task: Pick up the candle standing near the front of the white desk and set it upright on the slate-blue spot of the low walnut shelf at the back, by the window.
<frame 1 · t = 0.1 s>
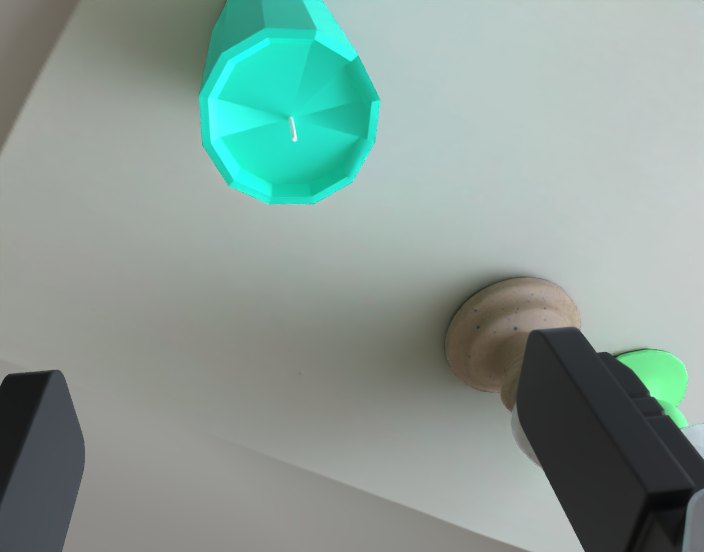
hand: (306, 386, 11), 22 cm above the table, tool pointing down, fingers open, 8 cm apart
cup: (625, 395, 46), on the table
candle holder: (508, 330, 41), on the table
candle: (276, 48, 29), on the table
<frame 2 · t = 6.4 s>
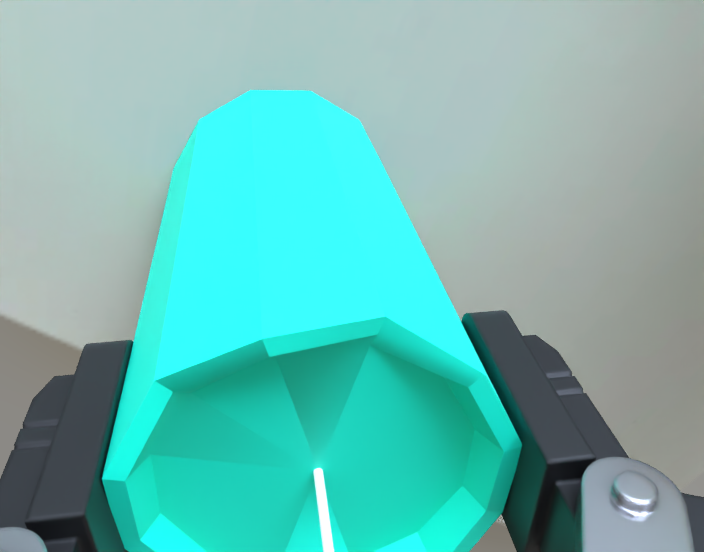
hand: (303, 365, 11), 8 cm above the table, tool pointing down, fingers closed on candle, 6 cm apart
candle: (281, 189, 18), on the table, touching gripper
when the fingers open (15 cm above the table, at t = 14.3 s): candle stays where it is, resting on shelf.
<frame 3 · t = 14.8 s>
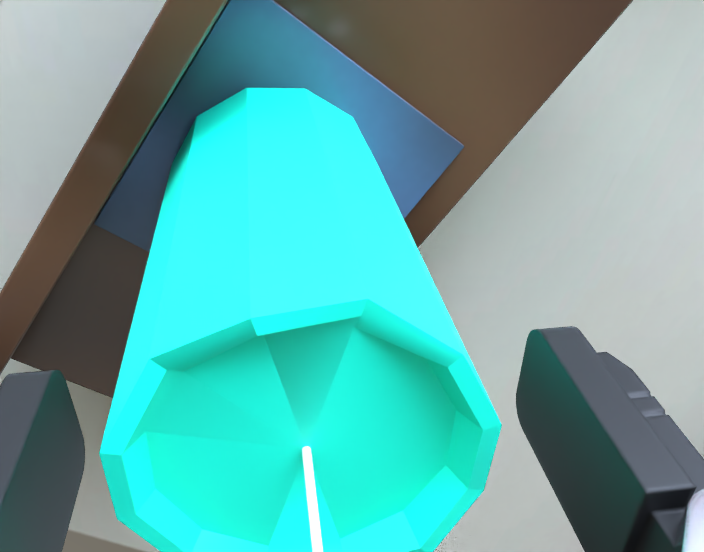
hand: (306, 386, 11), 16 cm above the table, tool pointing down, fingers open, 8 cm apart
shelf: (271, 109, 24), on the table
candle: (276, 185, 18), point 7 cm above the table, touching shelf
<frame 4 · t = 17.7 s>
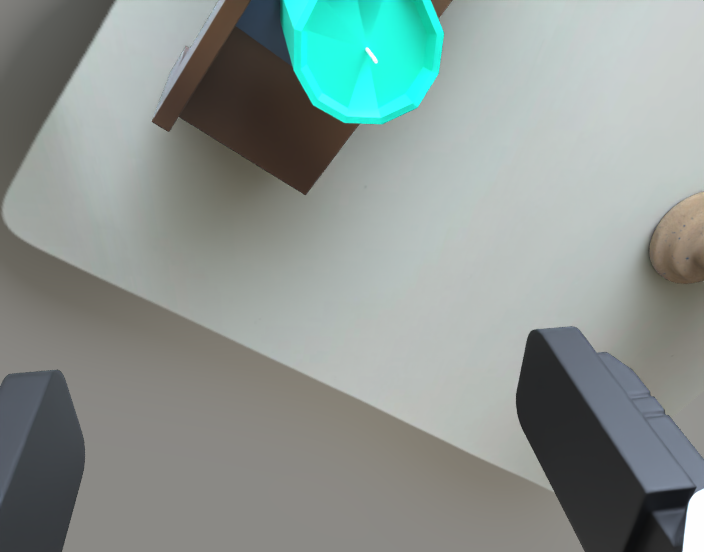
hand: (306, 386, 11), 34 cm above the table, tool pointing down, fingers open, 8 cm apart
candle holder: (695, 234, 54), on the table
candle: (334, 6, 33), point 7 cm above the table, touching shelf
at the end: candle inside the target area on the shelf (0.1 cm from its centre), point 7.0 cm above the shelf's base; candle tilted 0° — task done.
